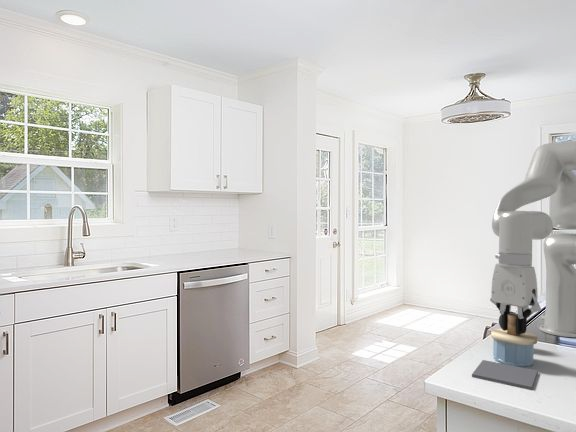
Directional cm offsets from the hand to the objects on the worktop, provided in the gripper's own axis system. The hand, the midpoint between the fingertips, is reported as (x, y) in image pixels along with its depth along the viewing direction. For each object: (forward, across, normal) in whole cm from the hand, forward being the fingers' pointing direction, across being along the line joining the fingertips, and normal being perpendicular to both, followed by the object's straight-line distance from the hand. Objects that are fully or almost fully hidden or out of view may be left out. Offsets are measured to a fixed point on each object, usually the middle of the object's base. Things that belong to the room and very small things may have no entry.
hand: (513, 330), depth 110 cm
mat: (+8, +5, -11) cm, 14 cm away
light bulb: (+8, -8, +10) cm, 15 cm away
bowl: (+8, 0, 0) cm, 8 cm away
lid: (+2, 0, 0) cm, 2 cm away
